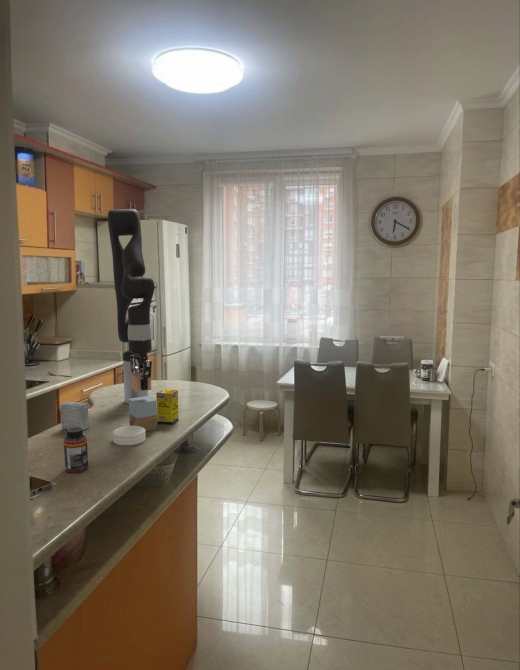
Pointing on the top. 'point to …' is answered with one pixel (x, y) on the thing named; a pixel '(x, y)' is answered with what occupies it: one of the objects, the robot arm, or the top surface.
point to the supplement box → (167, 406)
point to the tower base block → (144, 422)
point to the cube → (138, 382)
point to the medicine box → (74, 415)
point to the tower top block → (142, 407)
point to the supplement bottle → (75, 450)
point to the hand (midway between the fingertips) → (141, 387)
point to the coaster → (129, 435)
